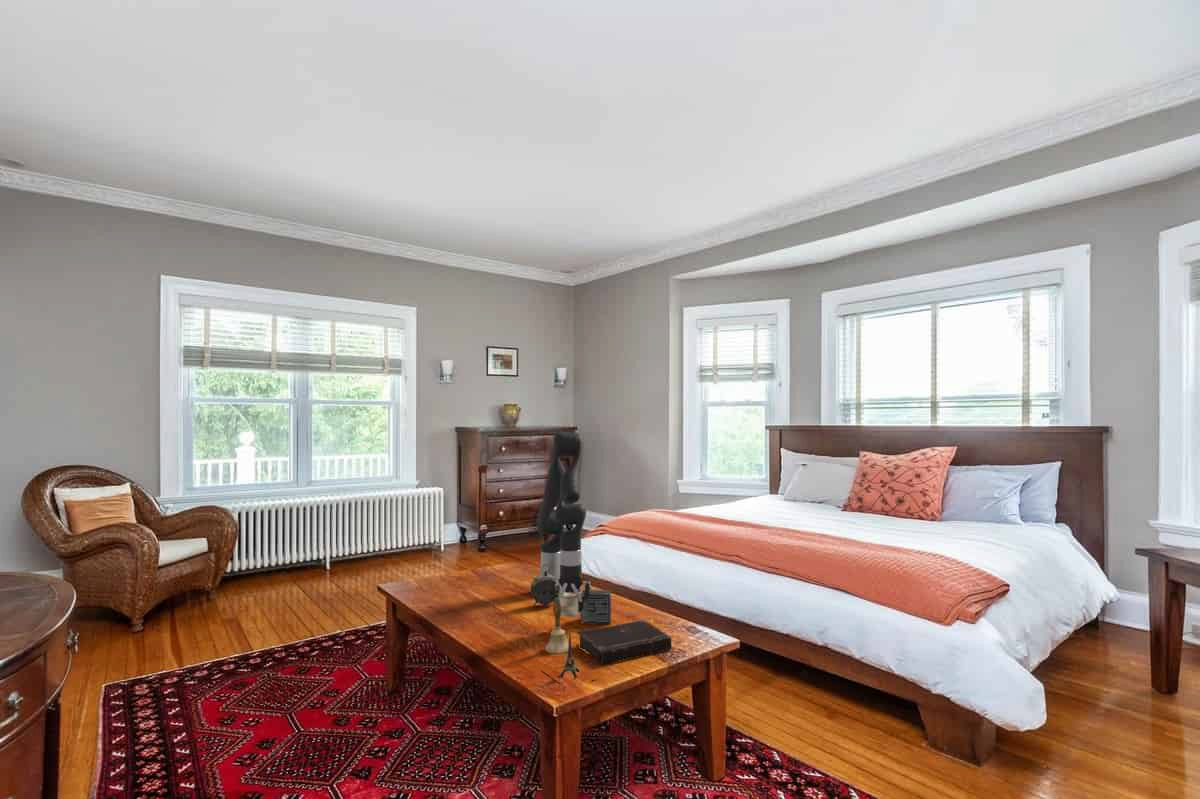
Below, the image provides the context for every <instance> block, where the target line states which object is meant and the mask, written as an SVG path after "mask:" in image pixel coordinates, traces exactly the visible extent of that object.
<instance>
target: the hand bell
mask: <svg viewBox="0 0 1200 799" xmlns="http://www.w3.org/2000/svg"><path fill="white" fill-rule="evenodd" d="M552 608H553V609H552V612H553V615H554V629H553V630H552V631H551V632H550V638H549V642H548V643H547V645H546V646H545V648H544V650H545V651H546V652H547V653H550V654H556V655H558V654H565V653H568V647H569V641H568V639H567V636H566V631H565V630H564V629H562V628H561V616H560V615H561V603H560V601H559V598H555V601H554V602H553V605H552Z"/></svg>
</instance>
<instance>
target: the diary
mask: <svg viewBox="0 0 1200 799" xmlns="http://www.w3.org/2000/svg"><path fill="white" fill-rule="evenodd" d="M575 634H577V635H578V636H579V644H576V645H575V647H577V646H578V647H579V645H580V648H582V649H585V650H586V651H587V652H589V653H590V654H591V655H590V656H592V657H593V656H594V657H593V658H594V659H596V660H597V659H598V660H597V661H599V662H600V665H601V666H605V665H609V664H608V663H610V664H612V663H611V662H614V663H616V662H615V661H618V662H620V661H619V660H622V661H624V660H623V659H627V658H631V657H636V656H640V657H643V656H642V655H644V656H647V655H646V654H648V655H651V654H650V653H652V654H655V653H654V652H657V653H659V652H658V651H662V650H666V649H671V650H672V637H671V635H669V634H667V633H665V632H664V631H662V630H660V628H658V627H657V626H655V625H653V624H652V623H649V622H647V621H646V620H636V621H632V622H626V623H621V624H617V625H616V624H615V625H612V626H610V625H609V626H602V627H594V628H589V629H583V630H580V631H579V630H578V631H576V632H575ZM578 647H577V648H578ZM580 648H579V649H580ZM582 649H580V650H581V651H582ZM666 651H667V650H666ZM662 652H663V651H662ZM636 658H637V657H636ZM631 659H632V658H631ZM600 660H601V661H600ZM627 660H628V659H627ZM604 664H605V665H604Z"/></svg>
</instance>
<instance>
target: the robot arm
mask: <svg viewBox="0 0 1200 799" xmlns="http://www.w3.org/2000/svg"><path fill="white" fill-rule="evenodd" d="M583 439H584V438H583V436H582V434H581V433H577V432H570V431H569V432H568V431H557V432H556V433H555V434H554V438H553V441H552V449H551V455H550V456H551V457H550V464H549V468H548V472H547V476H546V481H545V486H544V492H543V498H542V502H541V505H540V509H539V512H538V515H537V520H536V530H537V533H538V534H539V535H540V536H541V535H542V536H544V535H545V536H548V535H549V536H550V535H553V536H552V537H551V538H550V539H547V540H546V541H544V542H542V543H541V545H540V569H539V575H541V574H545V573H544V572H545V571H548V570H549V566H550V570H549V571H548V572H547V574H550V575H552V576H553V577H555V579H553V580H552V581H551V587H552V594H553V598H559V601H560V598H561V597H562V596H563V595H564V594H565V593H574V594H576V596H577V598H578V600H579V612H581V611H582V610H583V608H584V600H587V599H588V598H589V593H590V590H591V583H592V582H591V580H588V581H585V580H583V575H582V574H583V571H582V567H583V566H582V565H583V564H582V562H583V557H582V531H583V528H584V523H585V521H586V518H587V516H586V515H587V510H586V507H585V506H584V505H583V504H581V503H578V502H579V500H580V498H581V486H580V485H581V479H580V478H581V471H582V470H581V469H582V461H583V451H584V450H583V448H584V440H583ZM561 457H569V458H572V459H573V460H572V462H571V463H570V465H569V466H568V468H565V467H564V465H563V463H562V459H561ZM555 508H556V509H555ZM554 509H555V511H553V510H554ZM568 525H569V526H572V525H573V526H574V527H573V528H572V529H569V530H566V531H565V526H568ZM544 564H548V565H549V566H548V565H544ZM543 565H544V566H543ZM542 566H543V568H542ZM541 568H542V569H541ZM542 570H543V572H542ZM558 583H559V585H560V593H559V594H558V589H557V585H558ZM581 586H583V589H584V590H585V593H584V596H583V594H582V589H581Z"/></svg>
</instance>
